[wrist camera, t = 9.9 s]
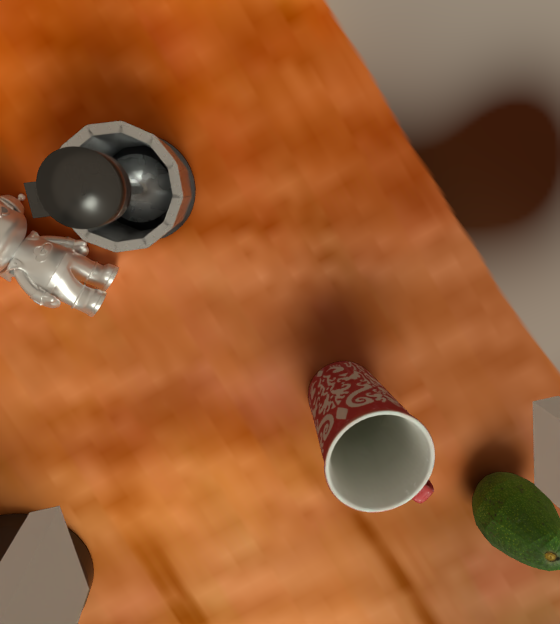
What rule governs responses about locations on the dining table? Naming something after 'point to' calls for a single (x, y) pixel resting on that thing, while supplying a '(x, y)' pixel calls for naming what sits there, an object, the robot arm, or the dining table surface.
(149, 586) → the dining table surface
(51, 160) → the plunger
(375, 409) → the mug
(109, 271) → the figurine
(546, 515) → the avocado
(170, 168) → the grey coffee mug
